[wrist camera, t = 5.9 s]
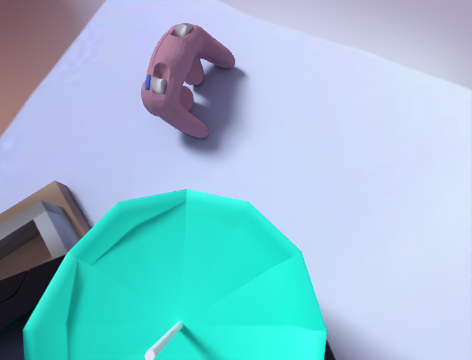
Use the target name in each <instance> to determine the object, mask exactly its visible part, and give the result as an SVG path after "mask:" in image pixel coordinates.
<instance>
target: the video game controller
mask: <svg viewBox="0 0 472 360" xmlns="http://www.w3.org/2000/svg"><path fill="white" fill-rule="evenodd" d="M200 58H201V59H205V60H207V61H209V62H211V63H213V64H214V65H217V66H219V67H222V68H229V69H230V68H232V67H233V66H234V65H235V59H234V56H233V55H232V53H231V52H230V51H229V50H228V49H227V48H226V47H225V46H223V45H222V44H221V43H220V42H218V41H217V40H216V39H214V38H213V37H212V36H211V35H209V34H208V33H207V32H206V31H205V30H203V29H202V28H201V27H199V26H197V25H193V24H189V23H183V24H179V25H175V26H173V27H172V28H171V29H170V30H169V31H168V32H166V33H165V35H164V36H163V37H162V38H161V39H160V41H159V42H158V44H157V46H156V48H155V50H154V52H153V54H152V57H151V60H150V63H149V67H148V71H147V78H146V80H145V82H144V83H143V85H142V89H141V97H142V101H143V104H144V106H145V108H146V109H147V110H148V111H149V112H150V113H151V114H153V115H155V116H159V117H160V118H161V119H162V120H164V121H166V122H167V123H169V124H170V125H172V126H173V127H175V128H176V129H178V130H180V131H182V132H183V133H186V134H188V135H190V136H193V137H196V138H206V137H208V135H209V130H208V128H207V126H206V125H205V124H204V123H203V122H202V121H200V120H199V119H198V118H196V117H195V116H193V115H192V114H191V113H190V112H188V111H189V110H190V109H191V108H192V106H193V101H194V98H193V94H192V92H191V90H190V89H189V88H188V87H186V86H182V85H183V83H184V81H185V82H186V83H187V84H189V85H198V84H200V83H201V82H202V81H203V78H204V71H203V67H202V64H201V61H200Z"/></svg>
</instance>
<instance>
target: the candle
mask: <svg viewBox="0 0 472 360" xmlns="http://www.w3.org/2000/svg"><path fill="white" fill-rule="evenodd" d="M326 336H327V329H326V326H325V323H324V320H323V317H322V314H321V310H320V307H319V304H318V301H317V298H316V295H315V292H314V289H313V286H312V283H311V280H310V276H309V273H308V270H307V267H306V264H305V261H304V258H303V255H302V252H301V251H300V250H299V249H298V248H297V247H296V246H295V245H294V244H293V243H292V242H291V241H290V240H289V239H288V238H287V237H285V236H284V235H283V234H282V233H281V232H280V231H279V230H278V229H277V228H276V227H275V226H274V225H273V224H272V223H271V222H270V221H268V220H267V219H266V218H265V217H264V216H263V215H262V214H261V213H260V212H259V211H258V210H257V209H256V208H255V207H254V206H253V205H252V204H250V203H249V202H247V201H242V200H237V199H232V198H227V197H223V196H218V195H213V194H208V193H203V192H198V191H193V190H189V189H185V190H180V191H174V192H169V193H164V194H158V195H153V196H148V197H143V198H137V199H132V200H127V201H121V202H117V203H116V204H115V205H114V206H113V207H112V208H111V209H110V210H109V211H108V212H107V213H106V214H105V215H104V216H103V217H102V218H101V219H100V220H99V221H98V222H97V223H96V224H95V225H94V226H93V227H92V228H91V230H90V231H89V232H88V233H87V234H86V235H85V236H84V237H83V238H82V239H81V240H80V241H79V242H78V243H77V244H76V245H75V246H74V247H73V248H72V249H71V250H70V251H69V252H68V253H67V254H66V256H65V258H64V260H63V261H62V263H61V265H60V267H59V268H58V270H57V272H56V273H55V275H54V277H53V279H52V280H51V282H50V284H49V286H48V287H47V289H46V291H45V292H44V294H43V296H42V298H41V299H40V301H39V303H38V305H37V306H36V308H35V310H34V311H33V313H32V315H31V317H30V318H29V320H28V322H27V324H26V325H25V327H24V329H23V344H24V359H25V360H324V354H325V345H326Z"/></svg>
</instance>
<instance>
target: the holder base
mask: <svg viewBox="0 0 472 360" xmlns="http://www.w3.org/2000/svg"><path fill="white" fill-rule="evenodd" d="M89 231H90V228H89V226H88V224H87V222H86V221H85V219H84V217H83V215H82V213H81V212H80V210H79V208H78V206H77V204H76V203H75V201H74V199H73V197H72V196H71V194H70V192H69V190H68V188H67V187H66V185H64V184H62V183H59V182H57V181H53V182H52V183H50V184H48V185H47V186H45V187H44V188H42V189H40V190H39V191H37V192H35V193H34V194H32V195H31V196H29V197H27V198H26V199H24V200H22V201H21V202H19V203H18V204H16V205H14V206H13V207H11V208H9V209H8V210H6V211H5V212H3V213H1V214H0V280H2V279H5V278H7V277H10V276H12V275H15V274H17V273H20V272H22V271H25V270H29V269H30V268H32V267H35V266H37V265H40V264H42V263H45V262H47V261H50V260H52V259H55V258H57V257H60V256H62V255H65V254H67V253H68V252H69V251H70V250H71V249H72V248H73V247H74V246H75V245H76V244H77V243H78V242H79V241H80V240H81V239H82V238H83V237H84V236H85V235H86V234H87V233H88V232H89Z"/></svg>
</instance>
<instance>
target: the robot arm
mask: <svg viewBox="0 0 472 360" xmlns="http://www.w3.org/2000/svg"><path fill="white" fill-rule="evenodd" d="M65 256H66V254H65V255H62V256H60V257H57V258H55V259H52V260H50V261H47V262H45V263H42V264H40V265H37V266H35V267H32V268H30V269H29V270H25V271H22V272H20V273H17V274H15V275H12V276H10V277H7V278H5V279H2V280H0V360H25V359H24V344H23V329H24V327H25V325H26V324H27V322H28V320H29V318H30V317H31V315H32V313H33V311H34V310H35V308H36V306H37V305H38V303H39V301H40V299H41V298H42V296H43V294H44V292H45V291H46V289H47V287H48V286H49V284H50V282H51V280H52V279H53V277H54V275H55V273H56V272H57V270H58V268H59V267H60V265H61V263H62V261H63V260H64V258H65ZM324 360H336V359H335V357H334V354H333V352H332V350H331V348H330V346H329V343H328V341H327V339H326V345H325V354H324Z"/></svg>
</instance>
